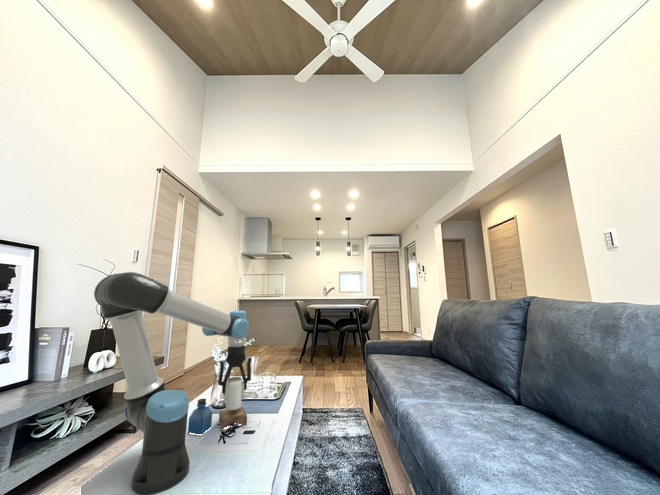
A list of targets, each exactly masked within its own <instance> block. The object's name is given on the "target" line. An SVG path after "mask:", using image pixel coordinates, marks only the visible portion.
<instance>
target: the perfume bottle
mask: <svg viewBox="0 0 660 495" xmlns="http://www.w3.org/2000/svg"><path fill="white" fill-rule="evenodd" d="M206 401H207V399H206V398H199V399H198V400H197V403H196V404H197V405H196V407H197V408H195V409H194V410H193V411H192V413H191V414H190V415H189V417H188V426H187V434H188V433H190V432H191V433H195V434H203V433H204V432H205V431H206V430H208V429H209V428H210V427H211V428H212V421H213V411H212V410H211V408H210V406H207V402H206Z"/></svg>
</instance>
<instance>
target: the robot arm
mask: <svg viewBox="0 0 660 495" xmlns="http://www.w3.org/2000/svg"><path fill="white" fill-rule="evenodd" d="M93 297H94V299H95V301H96V303H97V304H98V305H100V309H101V313H102V316H103V319H104V320H107V321H109V322H110V323H111V326H112V331H113V335H114V338H115V341H116V342H115V343H116V347H117V350H118V354H119V358H120V361H121V366H122V369H123V373H124V378H125V381H126V385H127V386H126V387H127V388H128V389H127V391H126V392H125V393H124V394H123V395H124V396H123V398H124V402H125V404H124V410H123V411H124V416H125V420H127V422H128V423H129V424H131V425H132V426H134V427H136V428H137V429H138V430H140V431H141V432H142V433H143V439H142V440H143V441H142V448H141V449H142V450H141V455H140V457H139V460H138V463H137V465H136V467H135V469H134V472H133V475H132V479H131V490H132V491H133V492H134V493H136V494H139V495H140V494H141V495H149V494H150V495H151V494H156V493H160V492H163V491H165V490H169V489H170V488H172V487H174V486H176V485H178V484H179V483H180V482H182V481H183V480H184V479H185V478H186V477H187V476H188V474H189V471H190V462H191V461H190V458H189V454H188V450H187V446H186V436H187V428H188V426H187V424H188V416H189V413H188V412H189V408H190V404H189V395H188V394H187V392H185V391H182V390H180V389H167V387H166V383H165V380H164V377H160V376H158V372H157V369H156V364H155V360H154V356H153V352H152V347H151V344H150V340H149V335H148V332H147V328H146V324H145V320H144V316H143V312H144V313H145V312H146V313H148V314H152V315H153V314H155V313H159V314H162V315H165V316H168V317H171V318H173V319H177V320H180V321H182V322H186V323H189V324H192V325H195V326H198V327H201V329H202V333H203V335H205V336H206V337H210V336H221V337H222V336H223V337H228V340H227V345H228V347H227V352H226V353H227V356H226V358H225V359H223V360H219V364H220V365H219V366H220V367H219V373H218V381H217V383H218V386H221V387H222V388H221V393H222V395H223V396H224V397H223V401H224V403H226V402H227V388H228V386H227V382H228V379H229V378H230V375H231V372H232V371H233V368H239V371H240V374H241V379H242V396H241V400H244V399H245V398H244V397H245V396H244V395H245V391H246V390H247V384H248V383H249V382H250V381H252V376H251V375H252V370H251V369H252V368H251V362H252V358H251V357H250V356H248V357H247V356H246V336H247V335H248V333H249V331H250V323H249V321H248V320H247V312H246V310H230V312H229V314H228V313H225V312H223V311H221V310H218V309H216V308H213V307H212V306H208V305H206V304H203V303H201V302H199V301H196V300H193V299H192V298H189V297H187V296H184V295H181V294H179V293H177V292H174V291H172V290H170V287H169V286H168V285H165V284H164V283H161V282H159V281H156V280H155V279H153V278H150V277H148V276H146V275H144V274H141V273H138V272H133V271H132V272H131V271H128V272H120V273H113V274H109V275H107V276H105V277H104V278H102V279H101V280H100V281H99V282H98V283H97V284H96V286H95V288H94V291H93ZM244 362H246V374H245V369H244V366H243V363H244ZM226 363H227V364H228V367H227V370H226V373H225V375H224V371H225V366H226ZM223 376H224V377H223Z"/></svg>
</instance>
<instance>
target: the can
mask: <svg viewBox="0 0 660 495" xmlns="http://www.w3.org/2000/svg"><path fill="white" fill-rule="evenodd" d="M242 382H243V379H242V376H233V377H229V378H228V381H227V383H226V384H227V386H228V388H227V402H225V410H230V411H232V410H237V409H239V408H240V407H242V399H241V396H242Z"/></svg>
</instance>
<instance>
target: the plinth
mask: <svg viewBox="0 0 660 495" xmlns="http://www.w3.org/2000/svg"><path fill="white" fill-rule="evenodd" d="M247 419H248V414H247V412H246V410H245V409H244V407H243V406H241V407H240V408H239V409H237V410H232V411H230V410H227V409H223V410H220V411H219V415H218V422H220V423H219V426H221V427H220V429H223V428H224V427H227V426H229V425H230V424H232V423H239V424H242V425H245V426H247V424H248V422H247V421H248V420H247Z"/></svg>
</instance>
